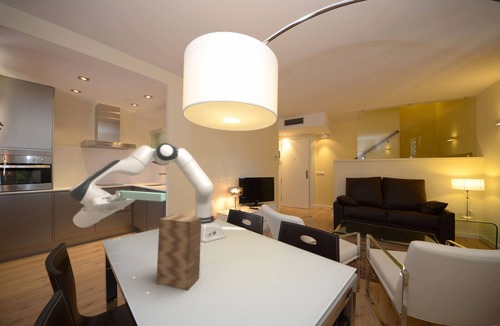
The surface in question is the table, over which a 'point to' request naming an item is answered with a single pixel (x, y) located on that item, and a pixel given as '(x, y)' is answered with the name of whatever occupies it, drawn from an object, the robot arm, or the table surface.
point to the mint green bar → (142, 195)
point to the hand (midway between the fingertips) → (125, 193)
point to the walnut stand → (179, 251)
